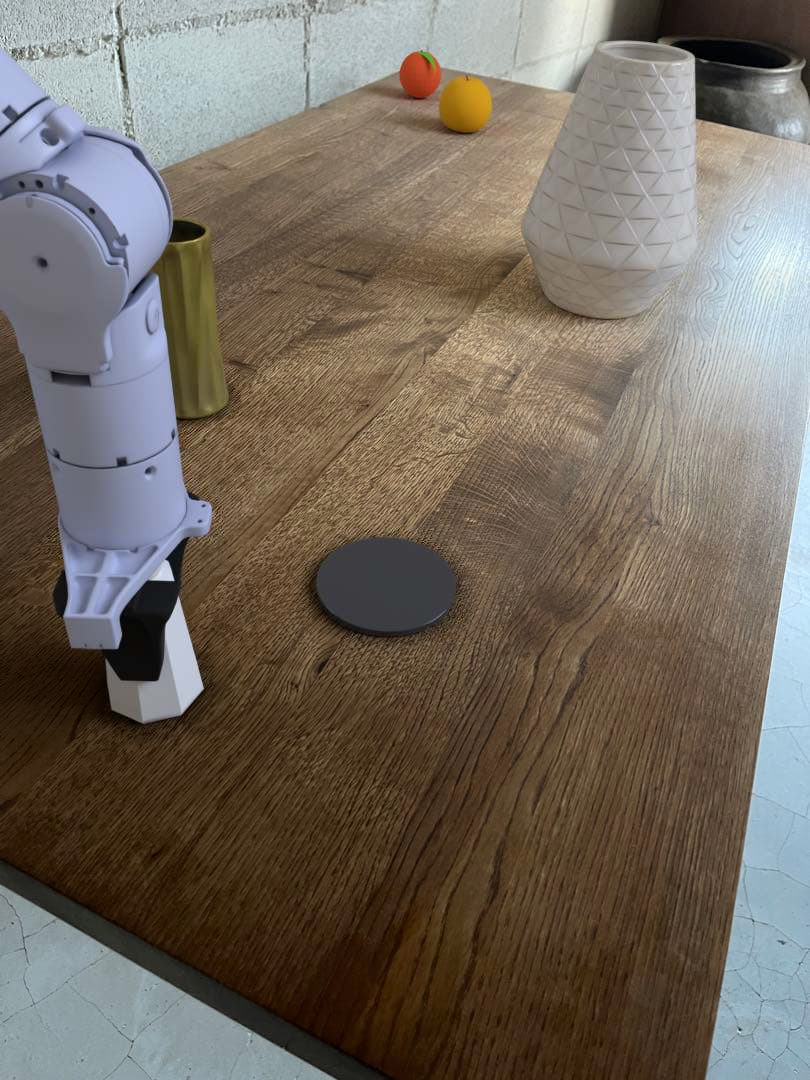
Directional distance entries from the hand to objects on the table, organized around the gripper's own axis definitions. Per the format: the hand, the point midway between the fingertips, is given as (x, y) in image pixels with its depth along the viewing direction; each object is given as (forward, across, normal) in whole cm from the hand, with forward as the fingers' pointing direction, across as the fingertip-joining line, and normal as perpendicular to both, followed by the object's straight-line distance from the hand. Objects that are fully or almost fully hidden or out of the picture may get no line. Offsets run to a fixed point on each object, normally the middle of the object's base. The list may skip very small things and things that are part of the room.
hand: (148, 645), depth 49 cm
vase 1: (+4, +31, +3) cm, 31 cm away
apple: (+4, +113, -25) cm, 116 cm away
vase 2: (+4, +55, -35) cm, 65 cm away
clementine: (+4, +130, -19) cm, 131 cm away
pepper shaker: (+4, 0, 0) cm, 4 cm away
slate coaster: (+3, +9, -13) cm, 16 cm away
